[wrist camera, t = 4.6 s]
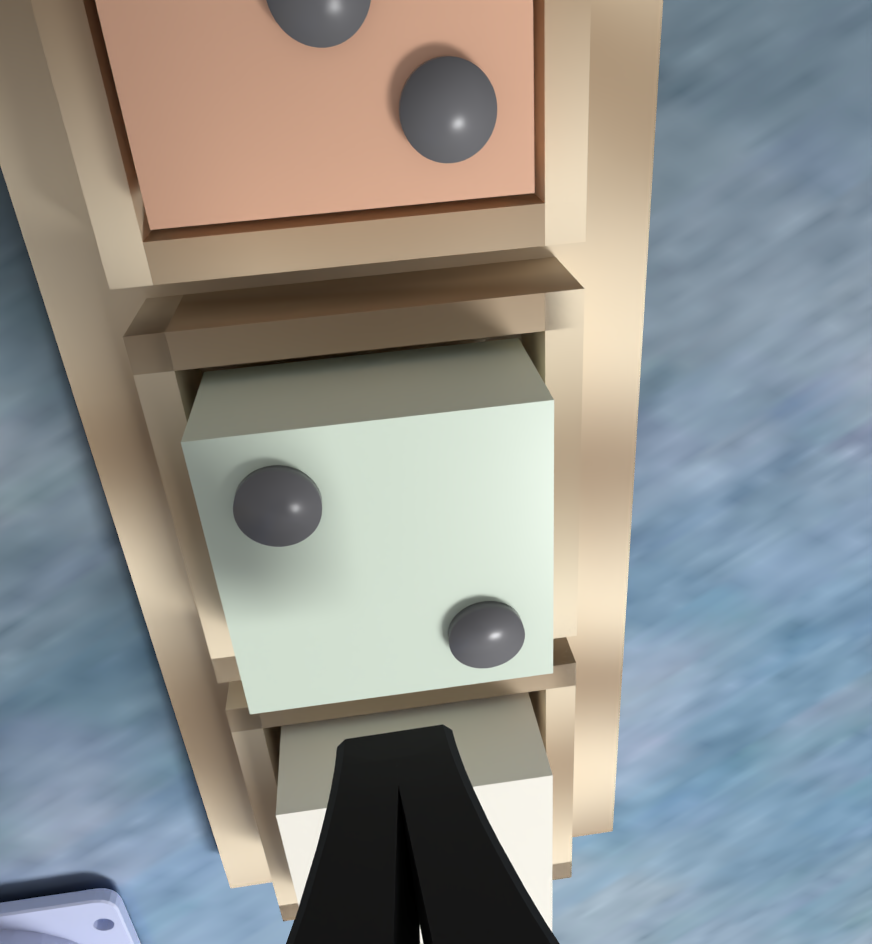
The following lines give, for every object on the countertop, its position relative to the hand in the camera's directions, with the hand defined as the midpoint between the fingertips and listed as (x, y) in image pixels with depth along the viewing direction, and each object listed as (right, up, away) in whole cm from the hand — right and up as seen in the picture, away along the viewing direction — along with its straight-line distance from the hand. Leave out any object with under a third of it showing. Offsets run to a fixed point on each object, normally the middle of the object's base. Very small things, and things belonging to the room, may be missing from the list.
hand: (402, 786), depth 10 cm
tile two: (-1, +4, +4) cm, 5 cm away
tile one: (0, -3, +8) cm, 8 cm away
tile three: (-1, +11, +1) cm, 11 cm away
